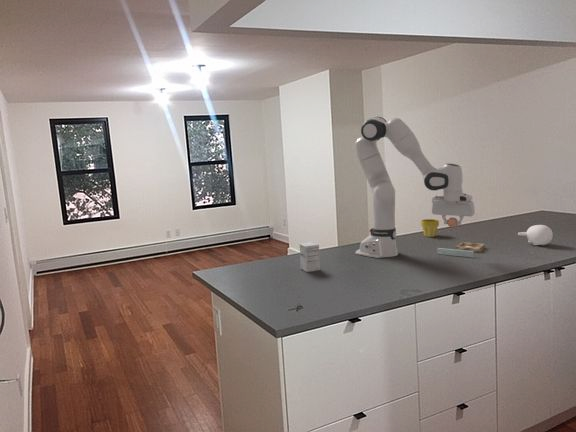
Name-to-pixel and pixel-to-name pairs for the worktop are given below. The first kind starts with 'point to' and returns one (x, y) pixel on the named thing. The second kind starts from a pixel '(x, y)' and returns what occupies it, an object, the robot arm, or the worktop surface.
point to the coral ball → (452, 222)
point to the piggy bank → (538, 234)
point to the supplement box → (309, 256)
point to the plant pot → (429, 227)
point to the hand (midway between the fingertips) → (452, 224)
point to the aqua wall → (455, 252)
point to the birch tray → (470, 247)
